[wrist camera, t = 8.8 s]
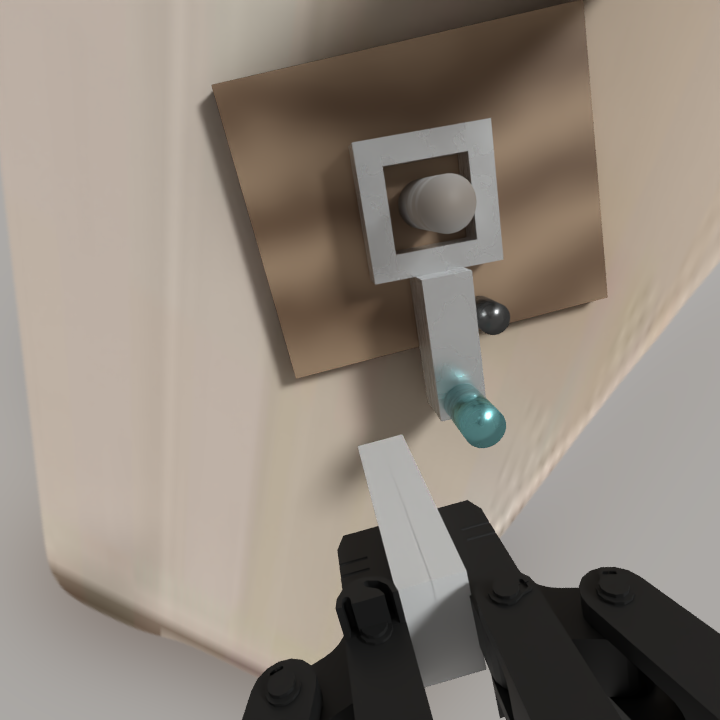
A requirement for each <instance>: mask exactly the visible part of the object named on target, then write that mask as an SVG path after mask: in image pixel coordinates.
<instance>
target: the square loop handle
mask: <svg viewBox="0 0 720 720" xmlns="http://www.w3.org/2000/svg"><path fill="white" fill-rule="evenodd" d="M348 149H349V155H350V161H351V166H352V172H353V178H354V184H355V190H356V196H357V202H358V208H359V214H360V220H361V226H362V232H363V238H364V244H365V250H366V256H367V261H368V267H369V273H370V279H371V281H372V282H373V283H374V284H375V285H376V284H381V283H386V282H392V281H397V280H402V279H407V278H410V284H411V291H412V298H413V305H414V312H415V319H416V325H417V332H418V339H419V346H420V353H421V360H422V367H423V374H424V381H425V387H426V394H427V401H428V403H429V404H430V406H431V407H432V409H433V410H434V411H435V413H436V414H437V416H438V417H439V419H440V420H441V421H445V420H450V419H452V421H453V422H454V424H455V425H456V426H457V428H458V429H459V430H460V432H461V433H462V434H463V436H464V437H465V439H466V440H467V441H468V442H469V443H470V444H471V445H472V446H474V447H478V448H487V447H490V446H493V445H495V444H496V443H497V442H499V441H500V439H501V438H502V437H503V435H504V433H505V430H506V421H505V418H504V416H503V415H502V414H501V413H500V412H499V411H498V410H497V409H496V408H495V407H494V406H493V405H492V404H491V403H490V402H489V401H488V400H487V399H486V396H485V387H484V377H483V368H482V359H481V349H480V340H479V331H478V322H477V312H476V303H475V294H474V284H473V275H472V270H470V269H467V268H464V267H468V266H473V265H478V264H483V263H489V262H494V261H499V260H503V248H502V237H501V226H500V214H499V203H498V192H497V181H496V169H495V158H494V147H493V135H492V124H491V118H488V119H482V120H476V121H471V122H465V123H459V124H454V125H448V126H442V127H437V128H431V129H425V130H420V131H414V132H409V133H403V134H397V135H392V136H386V137H380V138H375V139H369V140H363V141H358V142H352V143H351V144H350V145H349V146H348ZM455 154H458V162H459V172H460V176H462V177H464V178H465V179H467V180H468V181H469V182H470V184H471V185H472V187H473V189H474V191H475V194H476V200H477V203H476V210H475V213H474V216H473V218H472V220H471V221H470V222H469V224H468V225H467V226H466V236H467V237H465V238H460V239H455V240H450V241H445V242H439V243H434V244H429V245H424V246H419V247H413V248H408V249H403V250H398V251H395V245H394V239H393V232H392V226H391V219H390V212H389V206H388V199H387V193H386V186H385V179H384V173H383V167H388V166H394V165H400V164H405V163H411V162H416V161H422V160H427V159H433V158H438V157H444V156H449V155H455Z"/></svg>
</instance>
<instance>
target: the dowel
mask: <svg viewBox="0 0 720 720" xmlns="http://www.w3.org/2000/svg"><path fill="white" fill-rule="evenodd" d="M475 303H476V312H477V322H478V328H479V329H481V330H482V331H484V332H485V333H487V334H490V335H496V334H499V333H501V332H503V331H504V330H505V329H506V328H507V327H508V325H509V322H510V313H509V310H508V309H507V308H506V307H505V306H504V305H502V304H500V303H498V302H496V301H494V300H492V299H490V298H488V297H486V296H475Z"/></svg>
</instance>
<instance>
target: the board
mask: <svg viewBox="0 0 720 720" xmlns="http://www.w3.org/2000/svg"><path fill="white" fill-rule="evenodd" d="M212 89H213V92H214V96H215V99H216V103H217V106H218V110H219V113H220V117H221V120H222V124H223V127H224V131H225V134H226V137H227V141H228V144H229V148H230V151H231V155H232V158H233V162H234V165H235V169H236V172H237V176H238V179H239V183H240V186H241V189H242V193H243V196H244V200H245V203H246V207H247V210H248V214H249V217H250V221H251V224H252V228H253V231H254V234H255V238H256V241H257V245H258V248H259V252H260V255H261V259H262V262H263V266H264V269H265V273H266V276H267V280H268V283H269V286H270V290H271V293H272V297H273V300H274V304H275V307H276V311H277V314H278V318H279V321H280V325H281V328H282V331H283V335H284V338H285V342H286V345H287V349H288V352H289V356H290V359H291V363H292V366H293V370H294V373H295V377H296V379H297V378H301V377H305V376H308V375H312V374H316V373H320V372H324V371H328V370H331V369H335V368H339V367H343V366H347V365H351V364H354V363H358V362H362V361H366V360H370V359H373V358H377V357H381V356H385V355H389V354H393V353H396V352H400V351H404V350H408V349H412V348H416V347H419V339H418V332H417V325H416V319H415V312H414V305H413V298H412V291H411V284H410V278H407V279H402V280H397V281H392V282H386V283H381V284H376V285H375V284H374V283H373V282H372V281H371V279H370V273H369V267H368V261H367V256H366V250H365V244H364V238H363V232H362V226H361V220H360V214H359V208H358V202H357V196H356V190H355V184H354V178H353V172H352V166H351V161H350V155H349V149H348V146H349V145H350V144H351V143H352V142H358V141H363V140H369V139H375V138H380V137H386V136H392V135H397V134H403V133H409V132H414V131H420V130H425V129H431V128H437V127H442V126H448V125H454V124H459V123H465V122H471V121H476V120H482V119H488V118H491V124H492V135H493V147H494V158H495V169H496V181H497V192H498V203H499V214H500V226H501V237H502V248H503V260H499V261H494V262H489V263H483V264H478V265H473V266H468V267H464V268H467V269H470V270H472V275H473V284H474V294H475V296H486V297H488V298H490V299H492V300H494V301H496V302H498V303H500V304H502V305H504V306H505V307H506V308H507V309H508V310H509V313H510V322H509V323H511V322H515V321H519V320H523V319H527V318H530V317H534V316H538V315H542V314H546V313H550V312H553V311H557V310H561V309H565V308H569V307H573V306H576V305H580V304H584V303H588V302H592V301H596V300H599V299H603V298H607V297H608V296H607V284H606V271H605V259H604V247H603V235H602V223H601V211H600V198H599V186H598V174H597V162H596V150H595V138H594V126H593V113H592V101H591V89H590V77H589V65H588V53H587V40H586V28H585V16H584V4H583V0H577V1H573V2H568V3H564V4H560V5H555V6H551V7H547V8H542V9H538V10H534V11H529V12H525V13H521V14H516V15H512V16H508V17H503V18H499V19H495V20H490V21H486V22H482V23H477V24H473V25H469V26H464V27H460V28H456V29H451V30H447V31H443V32H438V33H434V34H430V35H425V36H421V37H417V38H412V39H408V40H404V41H399V42H395V43H391V44H386V45H382V46H378V47H373V48H369V49H365V50H361V51H356V52H352V53H348V54H343V55H339V56H335V57H330V58H326V59H322V60H317V61H313V62H309V63H304V64H300V65H296V66H291V67H287V68H283V69H278V70H274V71H270V72H265V73H261V74H257V75H252V76H248V77H244V78H239V79H235V80H231V81H226V82H222V83H218V84H213V85H212ZM383 173H384V179H385V186H386V193H387V199H388V206H389V212H390V219H391V226H392V232H393V239H394V245H395V251H398V250H403V249H408V248H413V247H419V246H424V245H429V244H434V243H439V242H445V241H450V240H455V239H460V238H465V237H467V236H466V226H467V225H468V224H469V222H470V221H471V220H472V218H473V216H474V213H475V210H476V203H477V200H476V194H475V191H474V189H473V187H472V185H471V184H470V182H469V181H468V180H467V179H465V178H464V177H462V176H460V172H459V162H458V154H455V155H449V156H444V157H438V158H433V159H427V160H422V161H416V162H411V163H405V164H400V165H394V166H388V167H383ZM478 331H481V329H479V328H478Z"/></svg>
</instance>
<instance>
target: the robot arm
mask: <svg viewBox="0 0 720 720" xmlns="http://www.w3.org/2000/svg"><path fill="white" fill-rule="evenodd" d="M358 449H359V453H360V457H361V461H362V465H363V469H364V472H365V476H366V480H367V484H368V488H369V492H370V495H371V499H372V503H373V507H374V511H375V515H376V518H377V522H378V526H377V527H374V528H370V529H366V530H363V531H359V532H356V533H352V534H348V535H345V536H343V538H342V540H341V543H340V545H339V548H338V558H339V565H340V574H341V582H342V592H341V593H340V595H339V596H338V598H337V602H336V612H337V615H338V618H339V621H340V625H341V628H342V631H343V634H344V637H343V638H342V640H341V642H340V643H339V645H338V646H337V647H336V648H335V649H334V650H333V651H332V652H331V653H330V654H328V655H327V656H326V657H324V658H323V659H321V660H319V661H318V662H316V663H314V664H313V665H310V664H308V663H306V662H305V661H303V660H299V659H288V660H284V661H280V662H278V663H276V664H274V665H273V666H271V667H269V668H268V669H267V670H266V671H265V672H264V673H263V674H262V675H261V676H260V677H259V678H258V679H257V681H256V683H255V685H254V687H253V689H252V691H251V694H250V697H249V700H248V703H247V706H246V710H245V713H244V715H243V719H242V720H433V718H432V714H431V710H430V707H429V703H428V700H427V696H426V692H425V689H424V688H425V687H427V686H431V685H435V684H438V683H441V682H445V681H448V680H452V679H455V678H459V677H462V676H465V675H469V674H472V673H475V672H479V671H482V670H486V665H485V660H486V662H487V665H488V667H489V670H490V672H491V675H492V680H493V685H494V690H495V695H496V700H497V705H498V710H499V715H500V718H502V717H505V718H506V720H720V634H719V633H718V632H717V631H715V630H714V629H712V628H711V627H710V626H708V625H707V624H705V623H704V622H703V621H701V620H700V619H698V618H697V617H696V616H694V615H693V614H691V613H690V612H689V611H687V610H686V609H685V608H683V607H682V606H680V605H679V604H677V603H676V602H675V601H673V600H672V599H671V598H669V597H668V596H666V595H665V594H664V593H662V592H661V591H660V590H658V589H657V588H655V587H654V586H653V585H651V584H650V583H648V582H647V581H646V580H644V579H643V578H641V577H640V576H638V575H636V574H634V573H632V572H630V571H629V570H625V569H621V568H616V567H601V568H598V569H595V570H591V571H589V573H587V574H586V575H585V576H583V577H582V579H581V582H580V585H579V588H551V587H545V586H542V585H538V584H536V583H535V582H534V581H533V580H532V579H531V578H530V577H529V576H527V575H525V574H522V573H521V572H520V571H519V570H518V568H517V566H516V565H515V563H514V561H513V560H512V558H511V557H510V555H509V553H508V552H507V550H506V549H505V547H504V545H503V544H502V542H501V540H500V539H499V537H498V535H497V534H496V533H495V530H494V529H493V527H492V526H491V524H490V523H489V521H488V519H487V517H486V516H485V514H484V513H483V511H482V509H481V508H479V507H478V506H476V505H474V504H473V503H471V502H470V501H468V500H466V501H462V502H459V503H455V504H452V505H448V506H444V507H441V508H437V507H436V505H435V503H434V501H433V499H432V496H431V494H430V492H429V490H428V488H427V486H426V484H425V482H424V479H423V477H422V475H421V473H420V471H419V469H418V467H417V465H416V462H415V460H414V458H413V456H412V454H411V452H410V450H409V447H408V445H407V443H406V441H405V439H404V437H403V435H402V434H401V435H398V436H394V437H390V438H387V439H383V440H379V441H375V442H372V443H368V444H364V445H361V446H358ZM484 658H485V660H484Z"/></svg>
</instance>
